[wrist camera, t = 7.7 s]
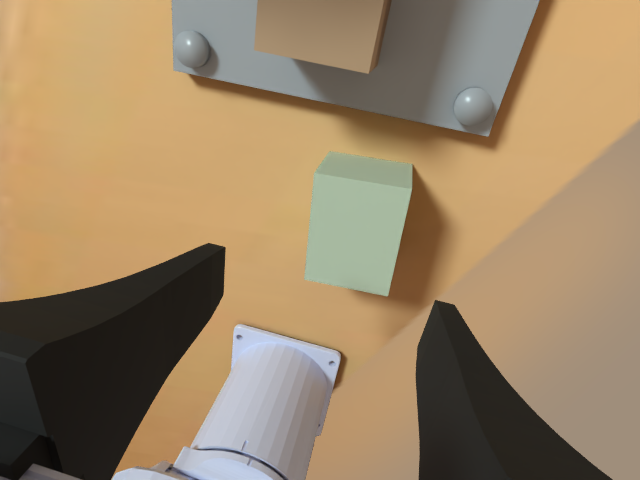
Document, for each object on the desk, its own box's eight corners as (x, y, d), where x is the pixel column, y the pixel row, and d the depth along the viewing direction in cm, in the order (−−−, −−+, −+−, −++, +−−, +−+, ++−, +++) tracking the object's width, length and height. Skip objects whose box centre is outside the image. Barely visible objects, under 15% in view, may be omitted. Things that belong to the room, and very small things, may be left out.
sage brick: (391, 258, 24) (387, 296, 20) (319, 244, 24) (304, 279, 21) (412, 163, 21) (412, 189, 17) (330, 150, 21) (314, 173, 18)
